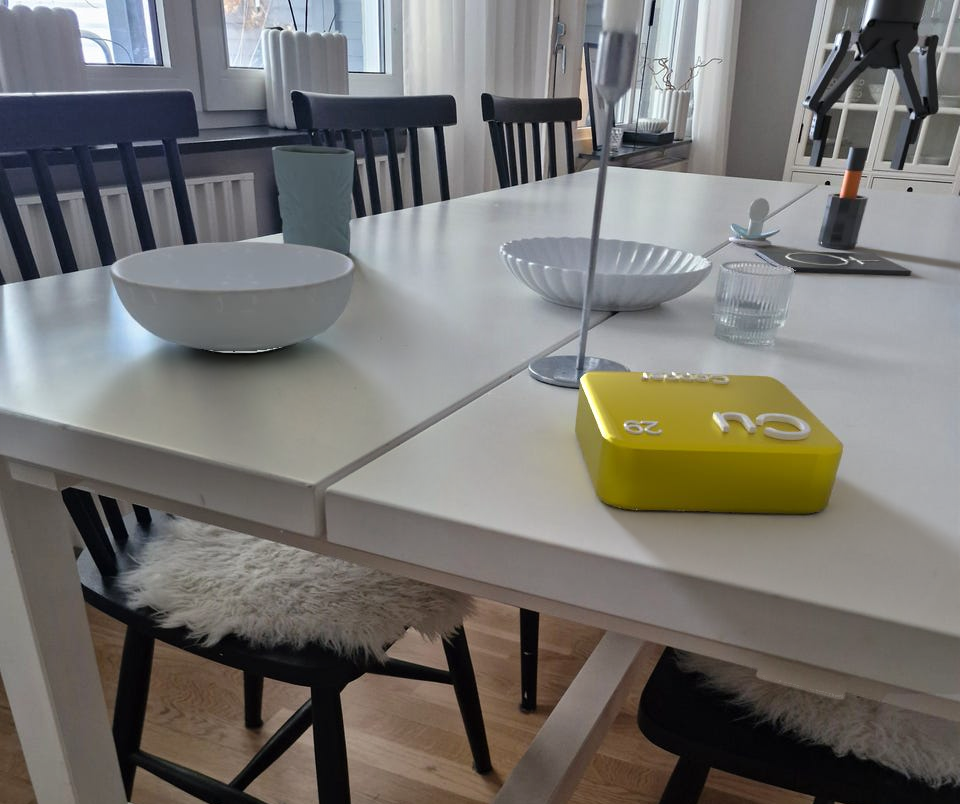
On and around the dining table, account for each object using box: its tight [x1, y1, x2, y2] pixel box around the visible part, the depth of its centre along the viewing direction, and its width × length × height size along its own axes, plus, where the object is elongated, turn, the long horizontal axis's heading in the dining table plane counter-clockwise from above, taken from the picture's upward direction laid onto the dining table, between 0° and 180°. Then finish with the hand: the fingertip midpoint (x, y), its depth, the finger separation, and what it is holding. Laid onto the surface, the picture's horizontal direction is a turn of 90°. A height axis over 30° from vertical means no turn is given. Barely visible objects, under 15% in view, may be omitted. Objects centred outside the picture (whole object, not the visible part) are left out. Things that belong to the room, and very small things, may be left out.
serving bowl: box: [109, 241, 356, 352], centre depth 81 cm, size 21×21×7 cm
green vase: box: [271, 145, 356, 256], centre depth 115 cm, size 10×10×12 cm
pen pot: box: [817, 192, 869, 250], centre depth 137 cm, size 6×6×7 cm
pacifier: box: [728, 197, 781, 247], centre depth 135 cm, size 7×6×6 cm
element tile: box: [574, 370, 844, 515], centre depth 60 cm, size 15×15×5 cm
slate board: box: [754, 249, 913, 276], centre depth 126 cm, size 18×12×1 cm, turn 93°
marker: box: [839, 145, 870, 198], centre depth 135 cm, size 3×3×13 cm
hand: (855, 167), depth 133 cm, fingers open, 12 cm apart
